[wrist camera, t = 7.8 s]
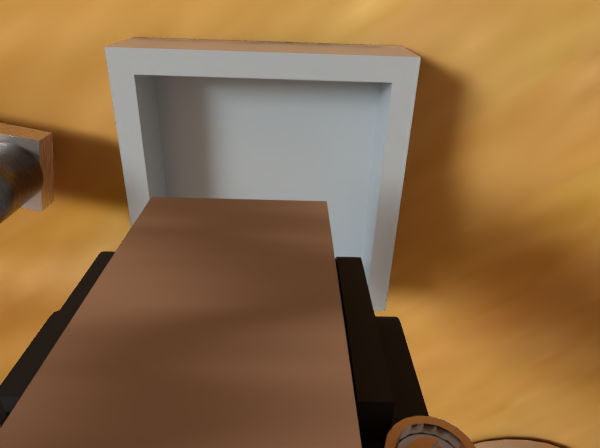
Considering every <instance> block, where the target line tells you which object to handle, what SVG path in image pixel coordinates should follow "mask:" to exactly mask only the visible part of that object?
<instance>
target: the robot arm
mask: <svg viewBox="0 0 600 448" xmlns="http://www.w3.org/2000/svg"><path fill="white" fill-rule="evenodd" d="M114 253H115V252H101V253H100V254H99V255H98V257H97V258H96V259H95V261H94V262H93V264H92V265H91V267H90V268H89V269H88V271H87V272H86V274H85V275H84V277H83V278H82V279H81V281H80V282H79V284H78V285H77V287H76V288H75V289H74V291H73V292H72V294H71V295H70V296H69V298H68V299H67V301H66V302H65V304H64V305H63V306H62V308H61V309H60V311H56V312H54V313H53V314H52V315H51V316H50V317H49V319H48V320H47V321H46V323H45V324H44V326H43V327H42V328H41V330H40V331H39V332H38V334H37V335H36V337H35V338H34V339H33V341H32V342H31V344H30V345H29V346H28V348H27V349H26V351H25V352H24V353H23V355H22V356H21V358H20V359H19V360H18V362H17V363H16V364H15V366H14V367H13V369H12V370H11V371H10V373H9V374H8V376H7V377H6V378H5V380H4V381H3V383H2V384H1V385H0V428H1V427H2V425H3V424H4V422H5V421H6V419H7V418H8V416H9V415H10V413H11V412H12V410H13V409H14V407H15V405H16V404H17V402H18V401H19V399H20V398H21V396H22V395H23V393H24V392H25V390H26V389H27V387H28V385H29V384H30V382H31V381H32V379H33V378H34V376H35V375H36V373H37V372H38V370H39V369H40V367H41V366H42V364H43V362H44V361H45V359H46V358H47V356H48V355H49V353H50V352H51V350H52V349H53V347H54V346H55V344H56V342H57V341H58V339H59V338H60V336H61V335H62V333H63V332H64V330H65V329H66V327H67V326H68V324H69V323H70V321H71V319H72V318H73V316H74V315H75V313H76V312H77V310H78V309H79V307H80V306H81V304H82V303H83V301H84V299H85V298H86V296H87V295H88V293H89V292H90V290H91V289H92V287H93V286H94V284H95V283H96V281H97V280H98V278H99V276H100V275H101V273H102V272H103V270H104V269H105V267H106V266H107V264H108V263H109V261H110V260H111V258H112V256H113V255H114ZM335 263H336V270H337V277H338V284H339V291H340V298H341V305H342V312H343V319H344V326H345V333H346V340H347V347H348V354H349V361H350V368H351V375H352V382H353V389H354V397H355V404H356V411H357V418H358V425H359V432H360V439H361V446H362V448H560V447H557V446H553V445H550V444H547V443H543V442H537V441H530V440H514V439H503V440H494V441H485V442H480V443H476V444H473V443H472V442H471V440H470V439H469V437H467V436H466V435H465V434H464V433H463V432H462V431H461V430H459V429H458V428H457V427H455V426H453V425H452V424H450V423H448V422H446V421H444V420H441V419H438V418H434V417H431V416H429V415H428V412H427V409H426V405H425V402H424V399H423V395H422V392H421V389H420V386H419V382H418V379H417V376H416V372H415V369H414V366H413V362H412V359H411V356H410V353H409V349H408V346H407V343H406V339H405V336H404V333H403V329H402V326H401V323H400V321H399V319H398V318H397V317H377V316H375V314H374V310H373V306H372V301H371V297H370V293H369V288H368V284H367V280H366V276H365V271H364V267H363V263H362V259H361V257H336V258H335Z"/></svg>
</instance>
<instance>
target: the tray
mask: <svg viewBox="0 0 600 448" xmlns="http://www.w3.org/2000/svg"><path fill="white" fill-rule="evenodd" d="M105 53H106V60H107V67H108V73H109V80H110V87H111V94H112V100H113V107H114V114H115V121H116V127H117V134H118V141H119V148H120V155H121V161H122V168H123V175H124V182H125V188H126V195H127V202H128V209H129V215H130V222H131V227H132V226H133V224H134V223H135V221H136V220H137V218H138V217H139V215H140V213H141V212H142V210H143V209H144V207H145V206H146V204H147V203H148V201H149V200H150V198H151V197H178V198H219V199H259V200H299V201H327V206H328V213H329V220H330V227H331V234H332V242H333V249H334V256H335V258H336V257H361V259H362V263H363V267H364V271H365V276H366V280H367V284H368V288H369V293H370V297H371V301H372V306H373V310H374V311H385V309H386V302H387V295H388V288H389V281H390V274H391V267H392V259H393V252H394V245H395V238H396V231H397V224H398V217H399V210H400V203H401V195H402V188H403V181H404V174H405V167H406V160H407V153H408V146H409V139H410V131H411V124H412V117H413V110H414V103H415V96H416V89H417V82H418V75H419V67H420V60H421V57H420V56H418V55H416V54H415V53H413V52H411V51H410V50H408V49H407V48H405V47H403V46H391V45H361V44H331V43H301V42H271V41H240V40H210V39H180V38H150V37H133V38H130V39H127V40H124V41H121V42H118V43H115V44H112V45H109V46H106V47H105Z"/></svg>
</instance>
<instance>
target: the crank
mask: <svg viewBox="0 0 600 448" xmlns="http://www.w3.org/2000/svg"><path fill="white" fill-rule="evenodd" d="M53 201H54V173H53V140H52V133H51V132H46V131H41V130H36V129H31V128H26V127H21V126H15V125H10V124H5V123H0V223H2V222H3V221H4V220H5V219H7V218H8V217H9V216H10V215H12V214H13V213H14V212H15V211H17V210H18V209H19V208H26V209H31V210H37V211H43V210H44V209H45V208H47V207H48V206H49V205H50V204H51V203H52V202H53Z"/></svg>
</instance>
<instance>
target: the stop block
mask: <svg viewBox="0 0 600 448" xmlns="http://www.w3.org/2000/svg"><path fill="white" fill-rule="evenodd" d="M0 448H362V446H361V439H360V432H359V425H358V418H357V411H356V404H355V397H354V389H353V382H352V375H351V368H350V361H349V354H348V347H347V340H346V333H345V326H344V319H343V312H342V305H341V298H340V291H339V284H338V277H337V270H336V263H335V256H334V249H333V242H332V234H331V227H330V220H329V213H328V206H327V201H299V200H259V199H219V198H178V197H151V198H150V200H149V201H148V203H147V204H146V206H145V207H144V209H143V210H142V212H141V213H140V215H139V217H138V218H137V220H136V221H135V223H134V224H133V226H132V227H131V229H130V230H129V232H128V233H127V235H126V237H125V238H124V240H123V241H122V243H121V244H120V246H119V247H118V249H117V250H116V252H115V253H114V255H113V256H112V258H111V260H110V261H109V263H108V264H107V266H106V267H105V269H104V270H103V272H102V273H101V275H100V276H99V278H98V280H97V281H96V283H95V284H94V286H93V287H92V289H91V290H90V292H89V293H88V295H87V296H86V298H85V299H84V301H83V303H82V304H81V306H80V307H79V309H78V310H77V312H76V313H75V315H74V316H73V318H72V319H71V321H70V323H69V324H68V326H67V327H66V329H65V330H64V332H63V333H62V335H61V336H60V338H59V339H58V341H57V342H56V344H55V346H54V347H53V349H52V350H51V352H50V353H49V355H48V356H47V358H46V359H45V361H44V362H43V364H42V366H41V367H40V369H39V370H38V372H37V373H36V375H35V376H34V378H33V379H32V381H31V382H30V384H29V385H28V387H27V389H26V390H25V392H24V393H23V395H22V396H21V398H20V399H19V401H18V402H17V404H16V405H15V407H14V409H13V410H12V412H11V413H10V415H9V416H8V418H7V419H6V421H5V422H4V424H3V425H2V427H1V428H0Z"/></svg>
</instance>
